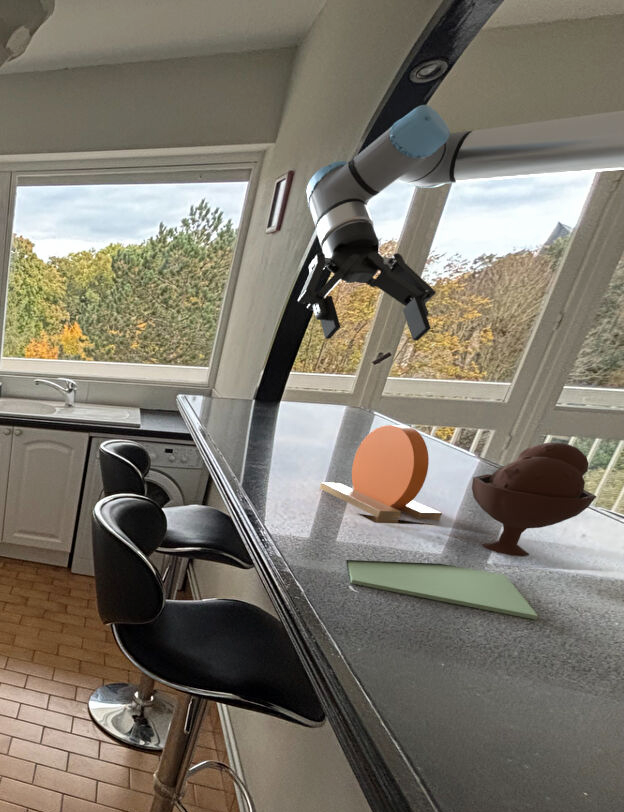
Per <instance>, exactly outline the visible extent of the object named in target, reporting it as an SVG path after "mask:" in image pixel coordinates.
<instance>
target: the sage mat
mask: <svg viewBox="0 0 624 812" xmlns="http://www.w3.org/2000/svg"><path fill="white" fill-rule="evenodd" d="M345 561H346V565H347V566H346V567H347V570H348V575H349V581H350V584H353V585H356V584H357V585H356V586H362V585H363V586H362V587H367V588H373V589H377V590H382V591H386V592H391V593H397V594H402V595H408V596H412V597H417V598H422V599H423V598H424V599H427V600H428V599H429V600H433V601H438V602H442V603H449V604H454V605H458V606H463V607H469V608H474V609H478V610H483V611H488V612H493V613H500V614H505V615H509V616H514V617H518V618H519V617H520V618H523V619H524V618H525V619H530V620H535V621H537V620H538V618H539V615H538V614H537V612H535V610H534V608H532V606H531V605H530V604H529V602H528V601H527V600H526V599H525V597H524V596H523V595H522V594H521V592H520V591H519V590H518V589H517V587H516V586H515V585H514V584H513V582H512V581H511V580H510V579H509V577H508V576H507V574H502V573H497V572H490V571H486V570H479V569H473V568H468V567H463V566H457V565H450V564H444V563H436V562H435V563H434V562H433V563H432V562H412V561H411V562H410V561H409V562H408V561H407V562H406V561H385V560H384V561H383V560H361V559H360V560H359V559H358V560H357V559H346V560H345Z"/></svg>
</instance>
